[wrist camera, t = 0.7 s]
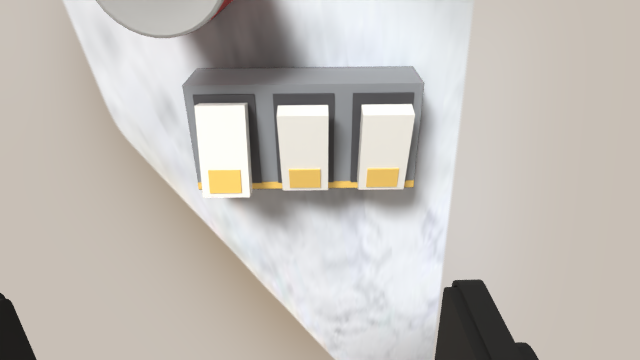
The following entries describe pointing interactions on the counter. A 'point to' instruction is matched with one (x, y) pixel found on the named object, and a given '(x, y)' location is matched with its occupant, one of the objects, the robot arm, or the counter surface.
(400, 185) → the rocker
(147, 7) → the canned food
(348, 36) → the counter surface
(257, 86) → the switch unit
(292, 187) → the rocker
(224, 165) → the rocker
